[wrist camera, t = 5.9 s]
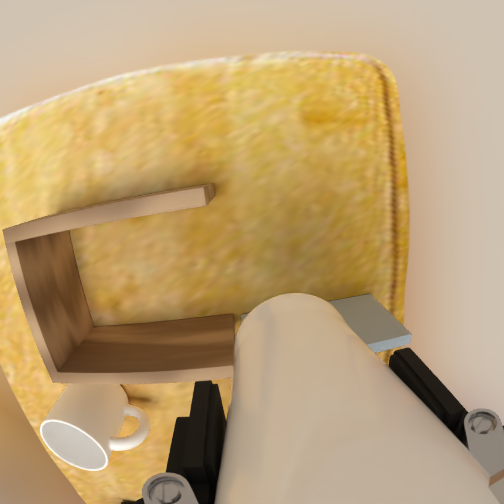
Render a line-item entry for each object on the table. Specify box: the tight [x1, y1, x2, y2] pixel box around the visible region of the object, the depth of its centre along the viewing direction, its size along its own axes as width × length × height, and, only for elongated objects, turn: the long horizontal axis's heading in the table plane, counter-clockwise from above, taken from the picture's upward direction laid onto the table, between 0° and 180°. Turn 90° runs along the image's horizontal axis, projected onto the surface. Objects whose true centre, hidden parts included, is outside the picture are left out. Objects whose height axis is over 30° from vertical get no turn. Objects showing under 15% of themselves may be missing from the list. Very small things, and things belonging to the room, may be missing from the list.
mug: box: [40, 383, 150, 471], centre depth 30 cm, size 12×8×10 cm
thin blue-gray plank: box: [241, 294, 411, 353], centre depth 28 cm, size 14×1×10 cm, turn 97°
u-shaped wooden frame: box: [3, 183, 235, 384], centre depth 26 cm, size 14×17×10 cm
